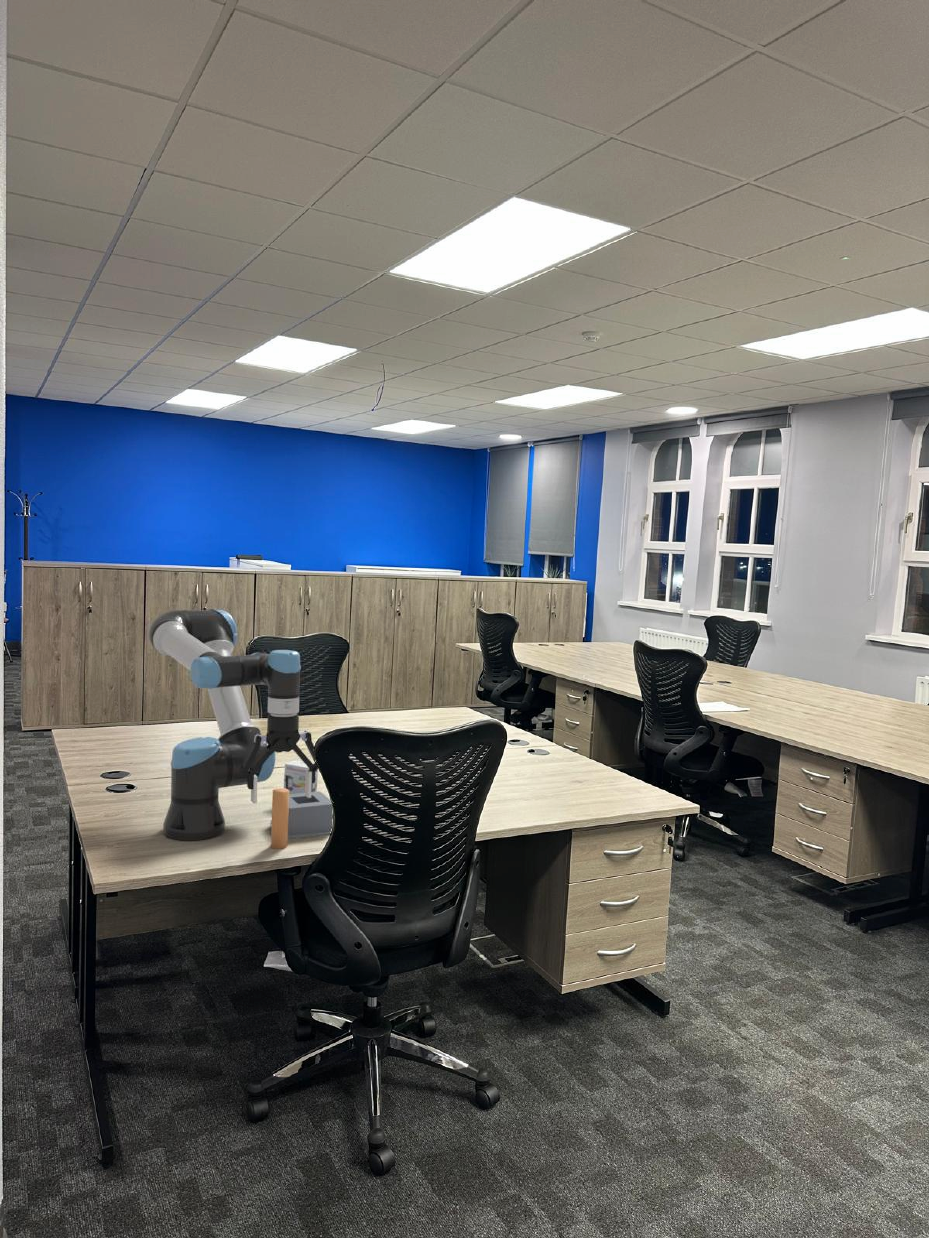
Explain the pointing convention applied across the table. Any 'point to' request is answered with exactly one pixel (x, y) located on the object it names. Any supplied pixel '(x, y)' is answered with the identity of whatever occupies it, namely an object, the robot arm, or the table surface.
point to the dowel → (280, 818)
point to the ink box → (297, 777)
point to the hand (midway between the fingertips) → (281, 799)
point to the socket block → (309, 815)
